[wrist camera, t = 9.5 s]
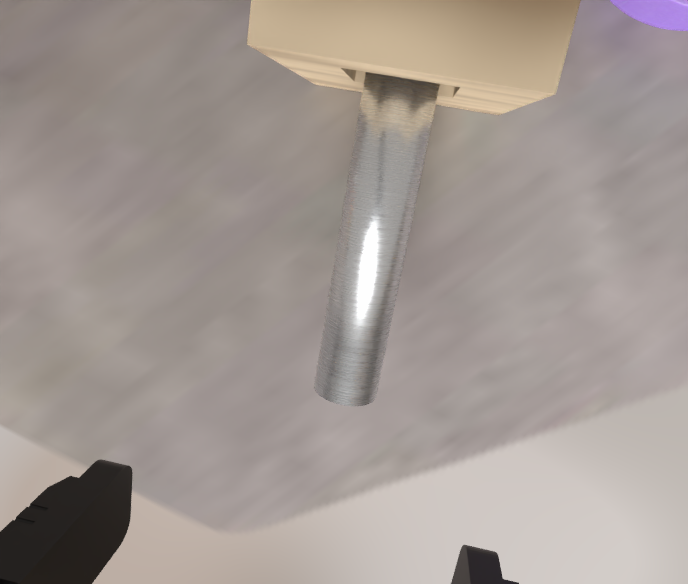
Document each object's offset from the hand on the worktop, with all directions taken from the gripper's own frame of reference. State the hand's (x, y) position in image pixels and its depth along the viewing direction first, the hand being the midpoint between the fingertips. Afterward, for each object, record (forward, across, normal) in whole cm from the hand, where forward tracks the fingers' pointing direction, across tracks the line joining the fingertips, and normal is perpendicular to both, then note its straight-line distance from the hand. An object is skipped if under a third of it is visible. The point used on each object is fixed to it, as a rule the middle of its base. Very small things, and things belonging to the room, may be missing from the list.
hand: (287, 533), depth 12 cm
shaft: (+14, 0, -7) cm, 16 cm away
